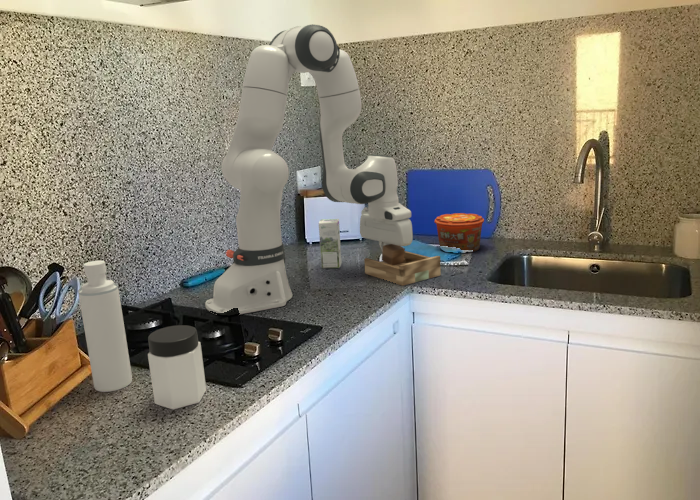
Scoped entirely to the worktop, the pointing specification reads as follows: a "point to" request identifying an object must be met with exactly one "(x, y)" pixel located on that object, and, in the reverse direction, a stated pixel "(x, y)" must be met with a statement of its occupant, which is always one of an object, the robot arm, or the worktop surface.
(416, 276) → the tray
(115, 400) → the worktop surface
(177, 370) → the jar
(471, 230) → the food container
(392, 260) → the block
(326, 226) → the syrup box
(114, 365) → the white bottle
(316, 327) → the worktop surface
